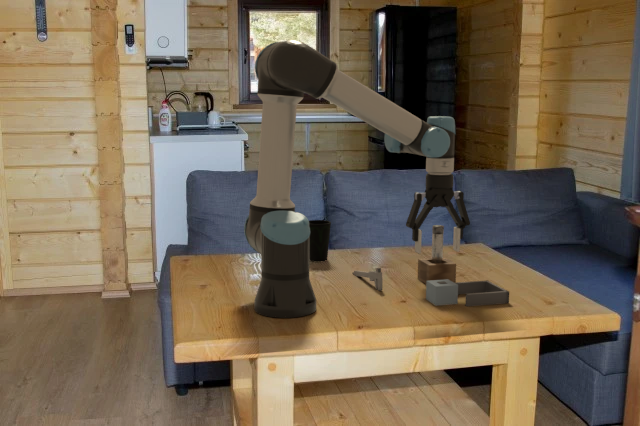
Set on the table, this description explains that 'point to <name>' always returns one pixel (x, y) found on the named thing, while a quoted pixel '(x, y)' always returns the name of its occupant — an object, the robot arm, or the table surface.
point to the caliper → (372, 277)
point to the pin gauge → (437, 243)
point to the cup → (319, 240)
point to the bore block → (436, 270)
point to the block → (441, 292)
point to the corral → (477, 296)
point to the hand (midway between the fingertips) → (437, 251)
